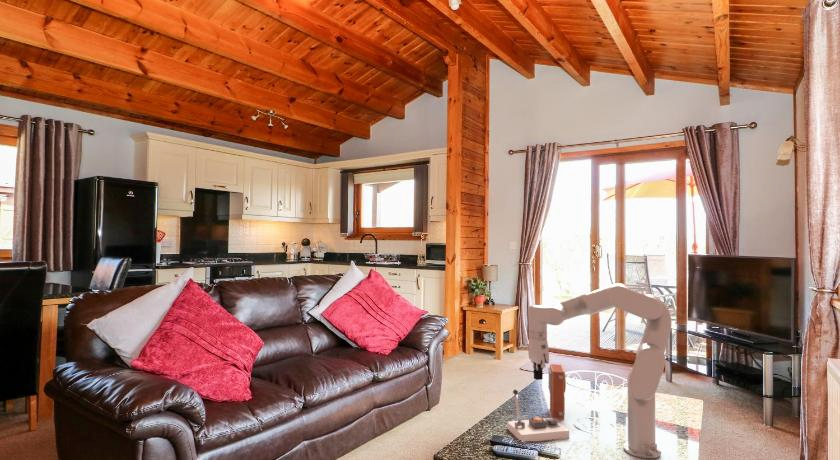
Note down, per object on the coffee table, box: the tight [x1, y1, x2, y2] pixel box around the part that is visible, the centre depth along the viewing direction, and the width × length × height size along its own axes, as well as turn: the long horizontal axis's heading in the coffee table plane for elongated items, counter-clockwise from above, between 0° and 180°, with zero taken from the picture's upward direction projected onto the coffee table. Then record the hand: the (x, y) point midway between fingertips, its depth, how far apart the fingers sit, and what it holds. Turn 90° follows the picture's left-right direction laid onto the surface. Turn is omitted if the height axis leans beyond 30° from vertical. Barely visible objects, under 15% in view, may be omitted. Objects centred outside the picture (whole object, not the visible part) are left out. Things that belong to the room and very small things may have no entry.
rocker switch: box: [547, 419, 559, 424], centre depth 195 cm, size 4×3×1 cm
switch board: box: [506, 416, 570, 443], centre depth 194 cm, size 14×21×6 cm, turn 103°
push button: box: [532, 416, 543, 422], centre depth 194 cm, size 4×4×2 cm
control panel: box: [547, 363, 567, 420], centre depth 216 cm, size 21×7×15 cm
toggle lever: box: [512, 389, 523, 426], centre depth 194 cm, size 2×2×14 cm
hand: (538, 378), depth 194 cm, fingers closed
